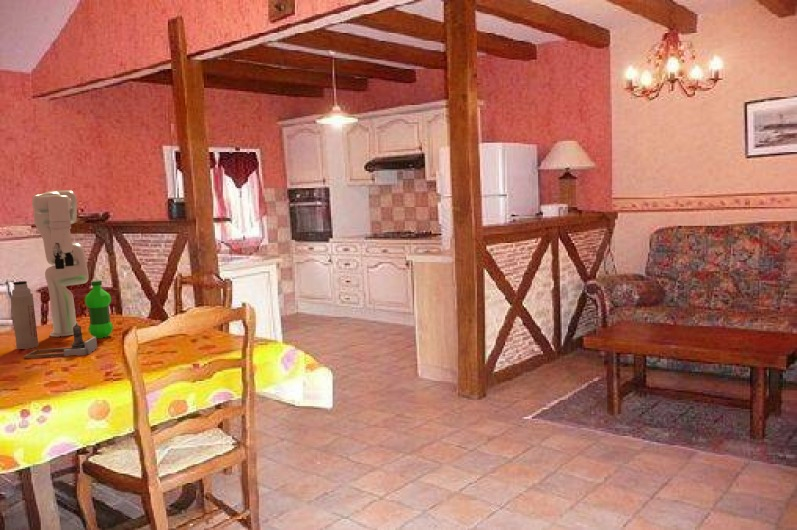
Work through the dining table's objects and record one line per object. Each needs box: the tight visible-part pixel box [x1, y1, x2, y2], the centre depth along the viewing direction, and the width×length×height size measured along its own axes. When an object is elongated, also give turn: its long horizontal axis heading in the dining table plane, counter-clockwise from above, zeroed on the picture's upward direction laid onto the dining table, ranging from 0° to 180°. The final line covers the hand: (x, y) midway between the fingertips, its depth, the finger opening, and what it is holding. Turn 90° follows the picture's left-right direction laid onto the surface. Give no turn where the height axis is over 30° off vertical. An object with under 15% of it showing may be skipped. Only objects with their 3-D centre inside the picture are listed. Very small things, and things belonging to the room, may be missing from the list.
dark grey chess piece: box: [70, 323, 85, 349], centre depth 261 cm, size 6×6×12 cm
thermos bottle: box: [10, 280, 39, 350], centre depth 273 cm, size 8×8×28 cm
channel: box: [23, 346, 73, 360], centre depth 261 cm, size 10×15×1 cm, turn 96°
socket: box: [63, 336, 98, 357], centre depth 261 cm, size 10×9×5 cm
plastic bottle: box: [84, 279, 114, 339], centre depth 288 cm, size 10×10×25 cm
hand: (65, 267), depth 269 cm, fingers open, 9 cm apart
